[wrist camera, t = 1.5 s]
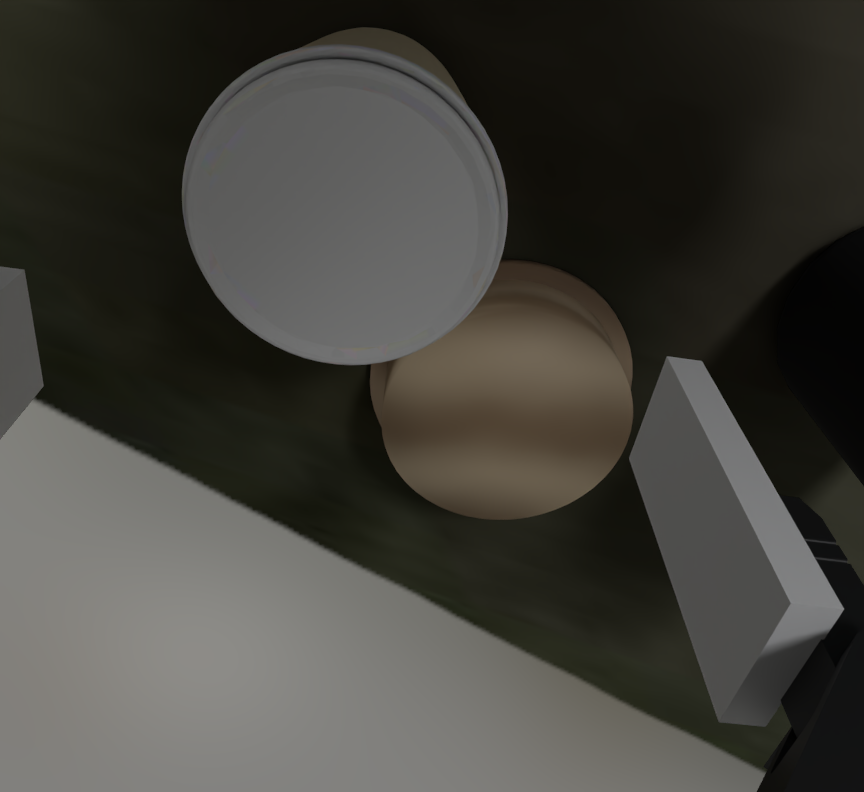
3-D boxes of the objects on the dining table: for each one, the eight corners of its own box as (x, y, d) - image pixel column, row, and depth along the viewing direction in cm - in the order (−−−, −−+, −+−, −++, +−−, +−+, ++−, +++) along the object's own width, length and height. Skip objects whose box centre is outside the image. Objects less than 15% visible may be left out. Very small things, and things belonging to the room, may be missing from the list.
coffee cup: (251, -8, 28) (153, 35, 18) (497, 13, 29) (534, 66, 19) (263, 228, 33) (191, 365, 23) (471, 243, 34) (489, 384, 24)
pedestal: (391, 237, 34) (387, 273, 30) (667, 284, 35) (692, 323, 31) (355, 463, 40) (349, 512, 37) (587, 495, 42) (600, 546, 38)
